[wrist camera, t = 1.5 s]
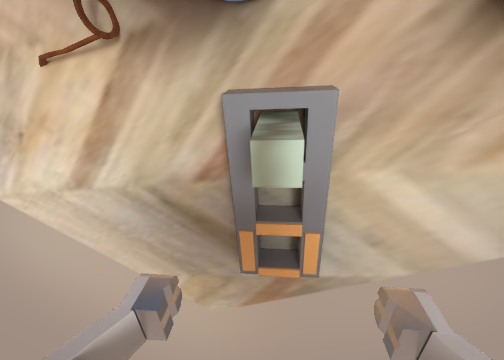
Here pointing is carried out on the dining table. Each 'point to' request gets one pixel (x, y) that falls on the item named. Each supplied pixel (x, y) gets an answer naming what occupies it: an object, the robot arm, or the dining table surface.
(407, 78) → the dining table surface
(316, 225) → the board
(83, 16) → the glasses
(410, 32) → the dining table surface
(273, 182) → the peg
